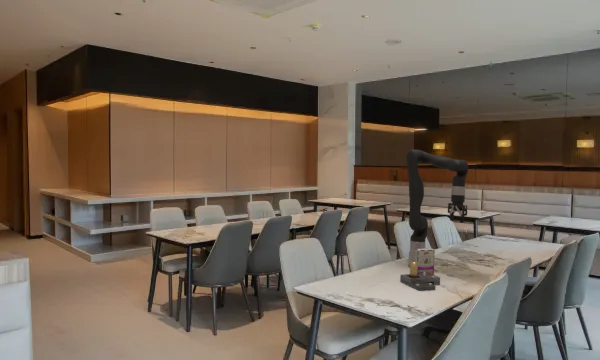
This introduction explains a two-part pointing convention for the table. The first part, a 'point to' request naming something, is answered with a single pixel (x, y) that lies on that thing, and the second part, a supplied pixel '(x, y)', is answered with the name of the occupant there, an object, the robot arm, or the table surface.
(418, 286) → the lower chain end
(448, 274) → the table surface
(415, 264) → the brass pin
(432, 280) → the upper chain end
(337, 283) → the table surface
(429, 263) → the candy bar box
